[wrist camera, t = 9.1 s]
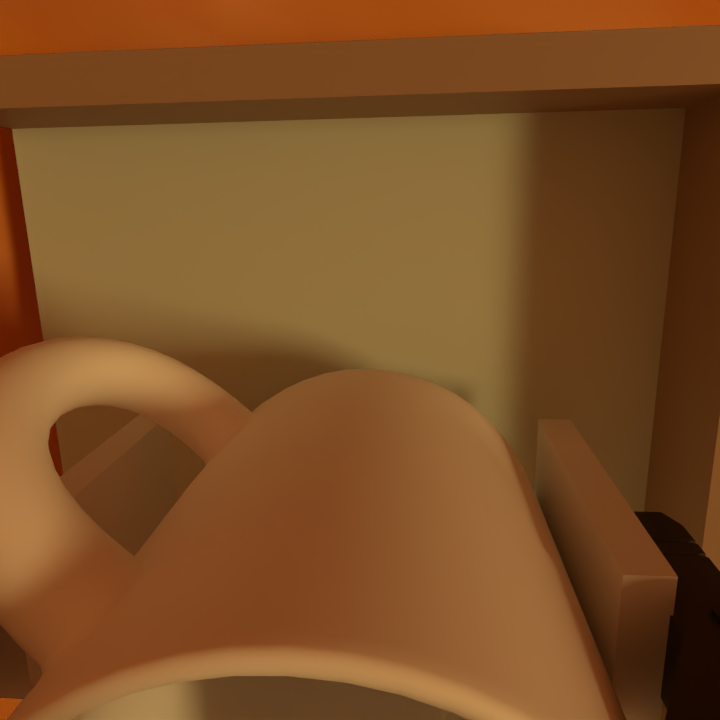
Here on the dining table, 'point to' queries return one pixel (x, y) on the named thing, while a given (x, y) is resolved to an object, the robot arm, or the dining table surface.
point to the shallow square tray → (400, 230)
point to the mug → (288, 557)
